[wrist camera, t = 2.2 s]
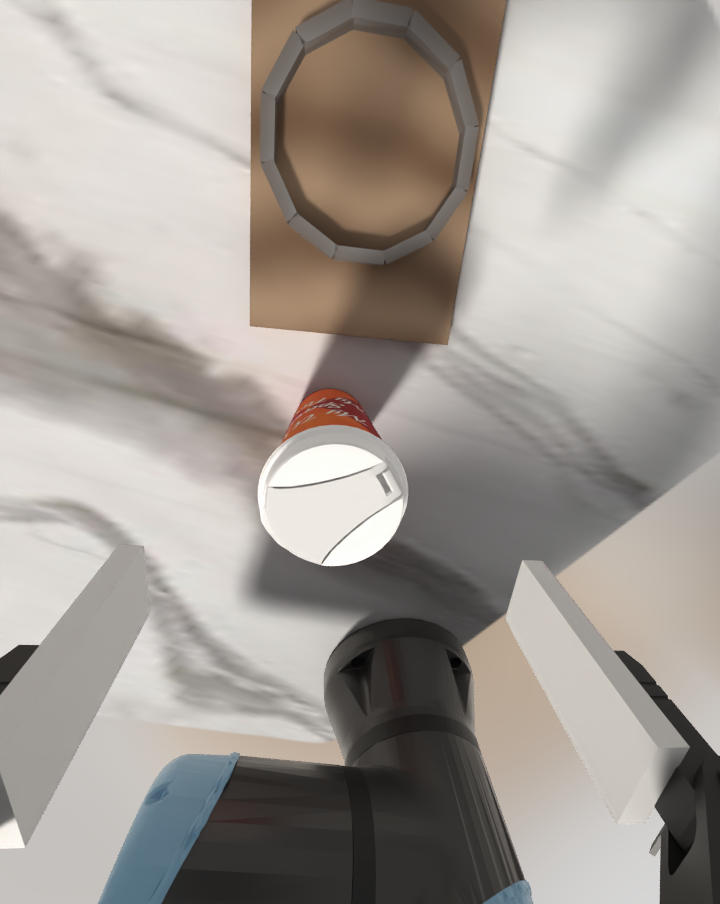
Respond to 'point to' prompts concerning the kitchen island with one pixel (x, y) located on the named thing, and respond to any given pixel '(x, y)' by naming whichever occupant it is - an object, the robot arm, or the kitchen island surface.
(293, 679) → the kitchen island surface
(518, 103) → the kitchen island surface
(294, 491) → the paper cup
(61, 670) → the robot arm
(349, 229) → the seat board
